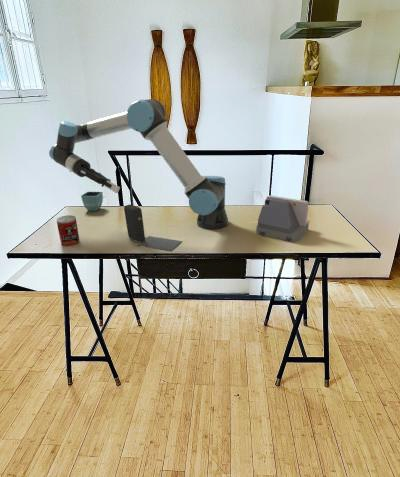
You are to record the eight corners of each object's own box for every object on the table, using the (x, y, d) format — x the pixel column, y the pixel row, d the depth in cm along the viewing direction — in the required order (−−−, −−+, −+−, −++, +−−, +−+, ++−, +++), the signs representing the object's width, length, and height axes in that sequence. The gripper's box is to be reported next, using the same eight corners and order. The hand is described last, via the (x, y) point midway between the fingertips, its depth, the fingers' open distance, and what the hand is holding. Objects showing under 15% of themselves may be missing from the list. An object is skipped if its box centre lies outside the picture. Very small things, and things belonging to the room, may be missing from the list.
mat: (181, 241, 148) (181, 241, 148) (171, 251, 139) (171, 250, 139) (149, 236, 153) (148, 235, 153) (137, 245, 145) (137, 244, 145)
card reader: (147, 240, 148) (142, 207, 142) (138, 243, 146) (134, 209, 140) (135, 235, 154) (131, 203, 149) (127, 238, 152) (122, 205, 146)
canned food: (62, 247, 144) (57, 223, 139) (59, 240, 150) (55, 217, 146) (81, 243, 147) (77, 219, 143) (77, 237, 154) (74, 214, 149)
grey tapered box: (314, 231, 158) (318, 199, 152) (291, 245, 144) (294, 211, 138) (274, 220, 171) (276, 191, 165) (249, 232, 157) (251, 200, 151)
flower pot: (89, 206, 193) (87, 191, 190) (104, 207, 192) (102, 191, 189) (82, 211, 185) (80, 195, 182) (98, 212, 184) (96, 196, 181)
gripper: (84, 175, 163) (122, 199, 156) (65, 171, 150) (105, 196, 144) (91, 161, 161) (129, 184, 155) (71, 155, 149) (112, 180, 142)
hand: (117, 190), depth 149 cm, fingers closed
